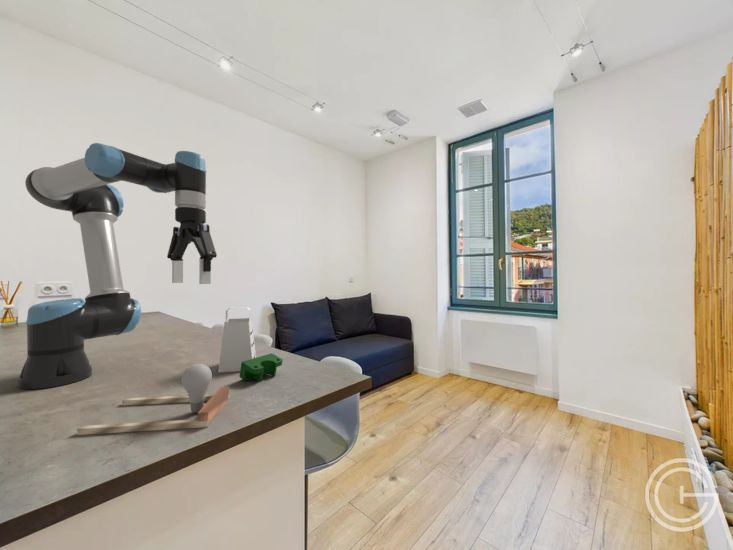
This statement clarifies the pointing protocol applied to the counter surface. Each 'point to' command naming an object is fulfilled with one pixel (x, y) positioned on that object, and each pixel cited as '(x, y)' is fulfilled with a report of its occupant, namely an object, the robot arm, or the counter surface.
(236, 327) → the grater
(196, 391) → the lightbulb
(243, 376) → the clamp
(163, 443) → the counter surface
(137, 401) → the guide
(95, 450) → the counter surface
